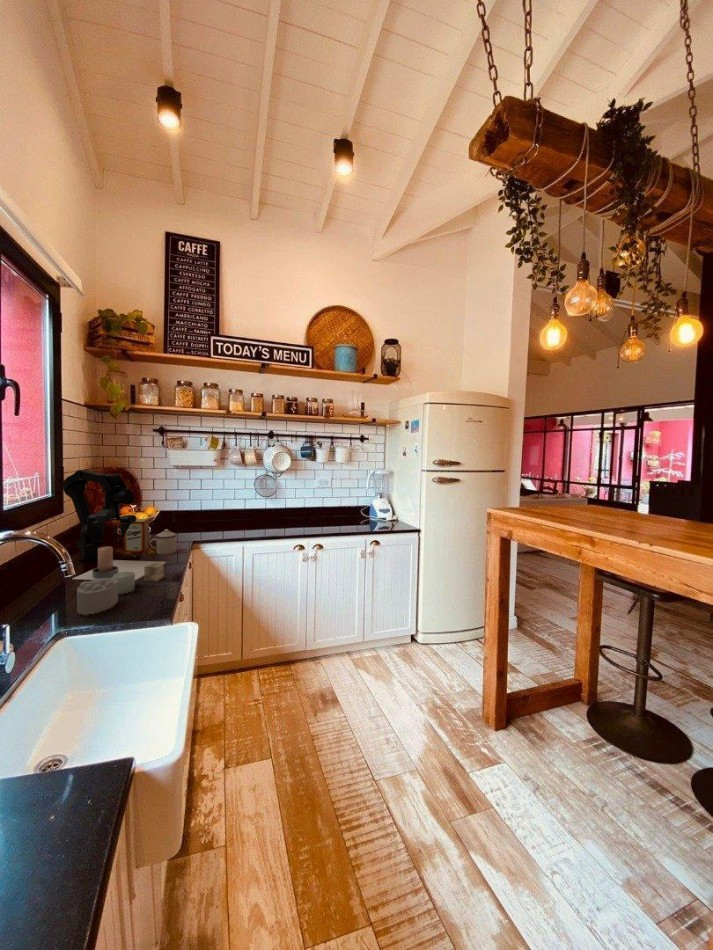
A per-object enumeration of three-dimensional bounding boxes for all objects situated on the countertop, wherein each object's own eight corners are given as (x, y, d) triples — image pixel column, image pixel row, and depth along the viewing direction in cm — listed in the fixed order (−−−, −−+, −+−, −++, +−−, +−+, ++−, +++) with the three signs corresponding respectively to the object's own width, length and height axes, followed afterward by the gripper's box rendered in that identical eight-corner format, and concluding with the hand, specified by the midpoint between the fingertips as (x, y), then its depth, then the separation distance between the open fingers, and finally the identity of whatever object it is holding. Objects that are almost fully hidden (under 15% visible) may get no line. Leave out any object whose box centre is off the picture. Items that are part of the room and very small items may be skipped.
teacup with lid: (176, 549, 206) (176, 527, 205) (176, 554, 198) (176, 530, 197) (150, 551, 201) (150, 528, 200) (148, 556, 193) (148, 532, 192)
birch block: (144, 584, 155) (144, 566, 154) (151, 580, 160) (151, 562, 159) (157, 584, 155) (157, 567, 154) (163, 580, 160) (163, 563, 159)
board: (71, 582, 154) (71, 578, 154) (114, 563, 180) (114, 559, 180) (133, 585, 153) (133, 581, 153) (166, 565, 179) (166, 561, 179)
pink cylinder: (95, 575, 158) (94, 548, 157) (107, 572, 162) (107, 545, 162) (103, 578, 156) (103, 550, 155) (115, 574, 160) (115, 547, 160)
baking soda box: (148, 549, 205) (148, 518, 204) (144, 552, 198) (144, 520, 197) (128, 549, 203) (128, 518, 202) (123, 552, 197) (123, 520, 196)
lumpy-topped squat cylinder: (121, 599, 140) (121, 574, 139) (105, 614, 127) (105, 588, 126) (88, 600, 138) (88, 575, 137) (69, 616, 125) (68, 589, 124)
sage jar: (108, 593, 144) (108, 576, 144) (122, 586, 151) (122, 570, 151) (125, 595, 143) (125, 579, 143) (138, 588, 150) (139, 573, 150)
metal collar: (87, 578, 155) (87, 572, 155) (102, 571, 163) (102, 565, 163) (109, 579, 155) (109, 572, 154) (122, 572, 163) (122, 566, 163)
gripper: (78, 504, 169) (78, 540, 170) (121, 506, 169) (122, 542, 170) (96, 501, 180) (96, 535, 181) (136, 502, 180) (137, 536, 181)
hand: (112, 537), depth 178 cm, fingers open, 9 cm apart
